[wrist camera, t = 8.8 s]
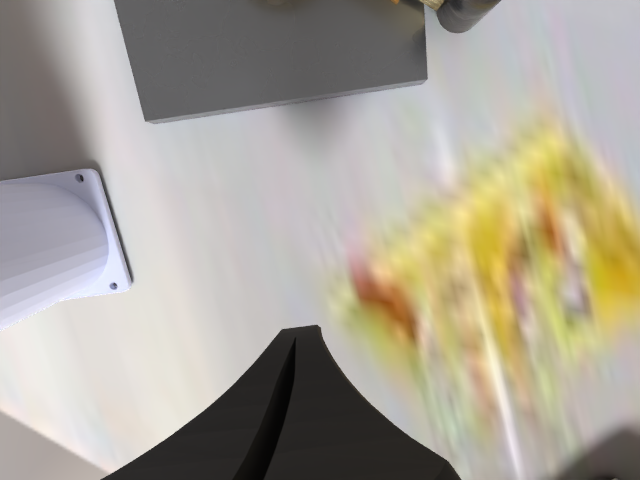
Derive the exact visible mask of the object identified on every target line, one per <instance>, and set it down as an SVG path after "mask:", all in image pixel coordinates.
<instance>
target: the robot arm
mask: <svg viewBox="0 0 640 480" xmlns="http://www.w3.org/2000/svg"><path fill="white" fill-rule="evenodd" d="M80 175H82V176H83V178H84V180H83V182H82V181H81V179H80ZM114 283H116V284H117V286H118V287H115V286H114ZM131 286H132V282H131V278H130V275H129V272H128V268H127V265H126V262H125V258H124V255H123V252H122V249H121V245H120V242H119V239H118V235H117V232H116V229H115V225H114V222H113V219H112V215H111V212H110V209H109V206H108V202H107V199H106V196H105V192H104V189H103V186H102V182H101V179H100V176H99V174H98V172H97V171H96V170H94V169H79V170H72V171H66V172H59V173H52V174H45V175H38V176H31V177H24V178H18V179H11V180H4V181H0V331H2V330H4V329H6V328H8V327H10V326H12V325H14V324H16V323H18V322H20V321H22V320H24V319H26V318H28V317H30V316H32V315H34V314H36V313H38V312H40V311H42V310H44V309H46V308H48V307H50V306H52V305H54V304H56V303H58V302H60V301H62V300H67V299H74V298H82V297H89V296H97V295H104V294H112V293H119V292H125V291H127V290H129V289H130V288H131ZM101 480H461V478H460V477H459V476H458V474H457V473H456V471H455V470H454V468H453V467H452V466H451V464H450V463H449V462H448V461H447V460H446V459H444V458H442V457H441V456H439V455H438V454H436V453H435V452H433V451H431V450H430V449H428V448H427V447H425V446H424V445H422V444H420V443H419V442H417V441H416V440H414V439H412V438H411V437H410V436H408V435H407V434H406V433H404V432H403V431H402V430H401V429H399V428H398V427H397V426H395V425H394V424H393V423H392V422H391V421H389V420H388V419H387V418H386V417H385V416H384V415H383V414H381V413H380V412H379V411H378V410H377V409H376V408H375V407H373V406H372V405H371V404H370V403H369V402H368V401H367V400H366V399H365V398H364V397H363V396H362V395H361V394H360V393H359V391H358V390H357V389H356V388H355V387H354V386H353V385H352V383H351V382H350V381H349V380H348V379H347V377H346V376H345V375H344V373H343V372H342V370H341V369H340V368H339V366H338V365H337V363H336V362H335V360H334V359H333V357H332V355H331V353H330V352H329V350H328V348H327V346H326V344H325V342H324V340H323V337H322V333H321V327H319V326H318V325H312V326H304V327H296V328H289V329H282V330H281V331H280V332H279V333H278V335H277V336H276V337H275V338H274V340H273V341H272V342H271V343H270V345H269V346H268V347H267V348H266V349H265V351H264V352H263V353H262V354H261V355H260V357H259V358H258V359H257V360H256V361H255V362H254V364H253V365H252V366H251V367H250V368H249V369H248V370H247V371H246V372H245V373H244V374H243V375H242V376H241V377H240V378H239V379H238V380H237V381H236V383H235V384H233V385H232V386H231V387H230V388H229V389H228V390H227V391H226V392H225V393H224V394H223V395H222V396H221V397H219V398H218V399H217V400H216V401H215V402H214V403H213V404H211V405H210V406H209V407H208V408H207V409H205V410H204V411H203V412H202V413H200V414H199V415H198V416H196V417H195V418H194V419H192V420H191V421H190V422H188V423H187V424H186V425H184V426H183V427H182V428H181V429H179V430H178V431H177V432H175V433H174V434H173V435H171V436H170V437H168V438H167V439H165V440H164V441H162V442H161V443H159V444H158V445H156V446H155V447H153V448H152V449H151V450H149V451H147V452H146V453H144V454H143V455H141V456H139V457H138V458H136V459H135V460H133V461H132V462H130V463H128V464H127V465H125V466H123V467H122V468H120V469H118V470H117V471H115V472H113V473H112V474H110V475H108V476H106V477H105V478H103V479H101Z"/></svg>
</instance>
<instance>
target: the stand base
mask: <svg viewBox="0 0 640 480" xmlns="http://www.w3.org/2000/svg"><path fill="white" fill-rule="evenodd" d="M114 2H115V6H116V10H117V14H118V18H119V22H120V26H121V30H122V34H123V37H124V41H125V45H126V49H127V53H128V57H129V61H130V65H131V69H132V72H133V76H134V80H135V84H136V88H137V92H138V96H139V100H140V104H141V107H142V111H143V115H144V119H145V121H146V122H149V123H153V124H158V123H165V122H172V121H179V120H185V119H192V118H199V117H206V116H212V115H219V114H226V113H232V112H239V111H246V110H253V109H259V108H266V107H273V106H280V105H286V104H293V103H300V102H306V101H313V100H320V99H327V98H333V97H340V96H347V95H354V94H360V93H367V92H374V91H380V90H387V89H394V88H401V87H407V86H414V85H421V84H423V83H424V82H425V81H426V80H427V79H428V77H427V57H426V38H425V18H424V3H422V2H421V1H419V0H114Z"/></svg>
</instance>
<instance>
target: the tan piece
mask: <svg viewBox="0 0 640 480" xmlns="http://www.w3.org/2000/svg"><path fill="white" fill-rule="evenodd" d="M419 1H421V2H422V3H424V4H426V5H427V6H429V7H431V8H432V9H434V10H436V12H437V17H438V20H439V22H440V24H441V25H442V26H443V27H444V28H445V29H446V30H447V31H449V32H452V33H462V32H465V31H468V30H469V29H471V28H472V27H473V26H474V25H475V24H476V23H478V22H479V21H480V20H481V19H482V18H483V17H484V16H485V15H486V14H487V13H488V12H489V11H490V10H491V9H493V8H494V7H495V6H496V5H497V4H498V3H499V2H500V1H501V0H419Z"/></svg>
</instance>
